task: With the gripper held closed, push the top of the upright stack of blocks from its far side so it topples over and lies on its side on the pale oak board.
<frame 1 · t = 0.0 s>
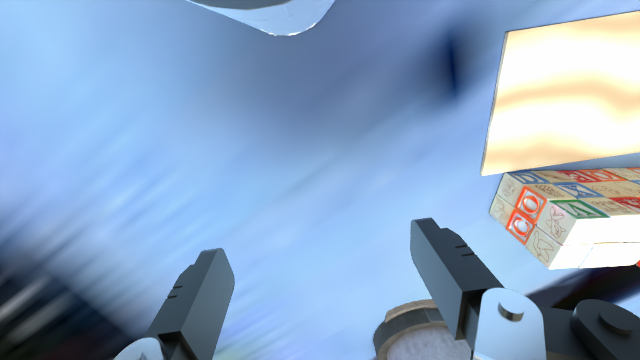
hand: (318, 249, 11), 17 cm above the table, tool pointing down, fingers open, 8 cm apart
juicer: (410, 350, 47), on the table
stack of blocks: (574, 189, 32), on the table
oak board: (617, 92, 26), on the table
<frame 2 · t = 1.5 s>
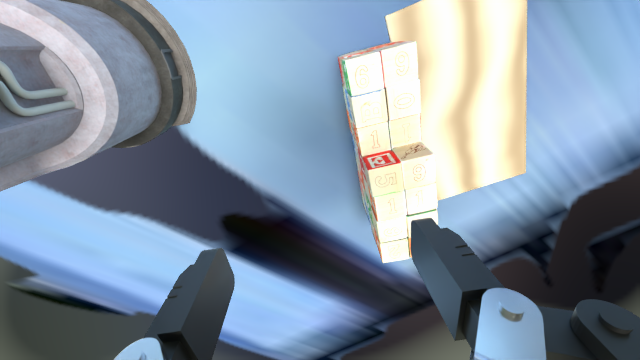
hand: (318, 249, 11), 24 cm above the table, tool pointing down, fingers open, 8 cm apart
juicer: (70, 82, 30), on the table
stack of blocks: (373, 135, 34), on the table
oak board: (464, 105, 32), on the table
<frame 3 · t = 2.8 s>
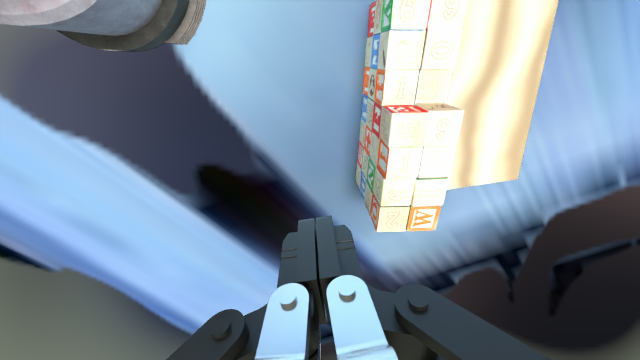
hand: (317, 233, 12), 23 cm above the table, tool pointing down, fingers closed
stack of blocks: (384, 105, 32), on the table
oak board: (478, 95, 32), on the table
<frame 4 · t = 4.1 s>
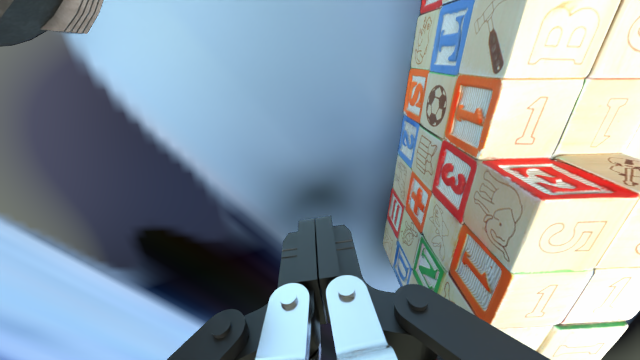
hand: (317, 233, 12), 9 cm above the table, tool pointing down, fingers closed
stack of blocks: (437, 132, 19), on the table
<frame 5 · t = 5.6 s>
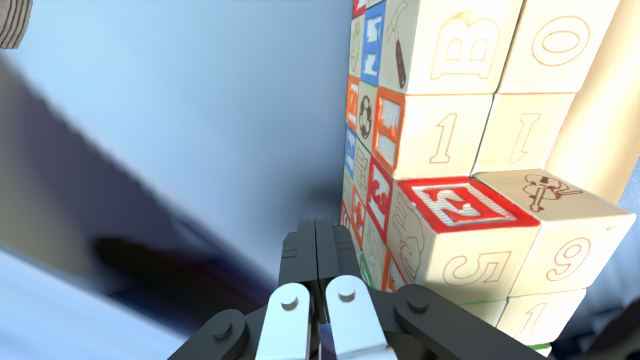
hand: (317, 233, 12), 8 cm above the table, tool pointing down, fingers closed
stack of blocks: (383, 140, 19), on the table, touching gripper
oak board: (549, 129, 19), on the table
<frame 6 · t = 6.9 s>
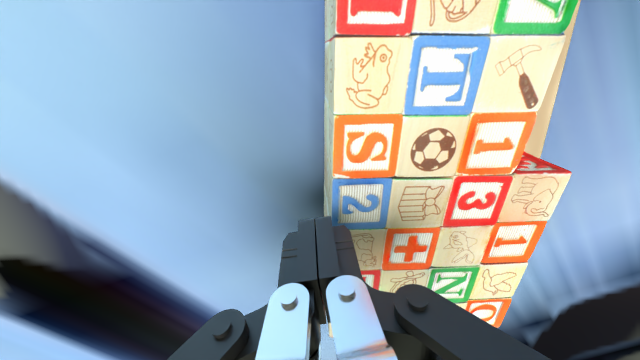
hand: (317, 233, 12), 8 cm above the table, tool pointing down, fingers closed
stack of blocks: (322, 180, 15), point 4 cm above the table, touching oak board
oak board: (444, 148, 19), on the table
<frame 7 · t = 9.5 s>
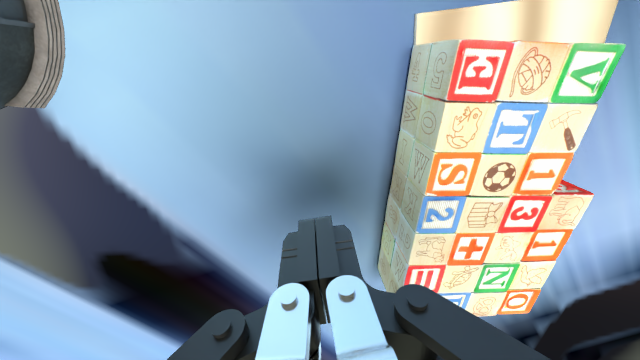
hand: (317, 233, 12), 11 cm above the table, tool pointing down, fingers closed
stack of blocks: (400, 195, 20), point 3 cm above the table, touching oak board
oak board: (485, 169, 23), on the table
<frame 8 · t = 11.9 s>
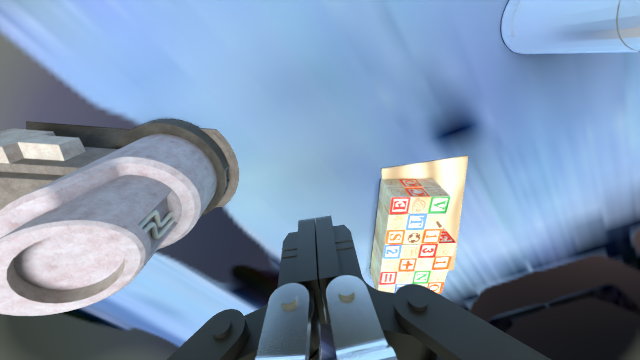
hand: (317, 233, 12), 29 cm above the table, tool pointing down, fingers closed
juicer: (144, 165, 40), on the table
stack of blocks: (377, 240, 45), point 3 cm above the table, touching oak board
oak board: (421, 224, 48), on the table
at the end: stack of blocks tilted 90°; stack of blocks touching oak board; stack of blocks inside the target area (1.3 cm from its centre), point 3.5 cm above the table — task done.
